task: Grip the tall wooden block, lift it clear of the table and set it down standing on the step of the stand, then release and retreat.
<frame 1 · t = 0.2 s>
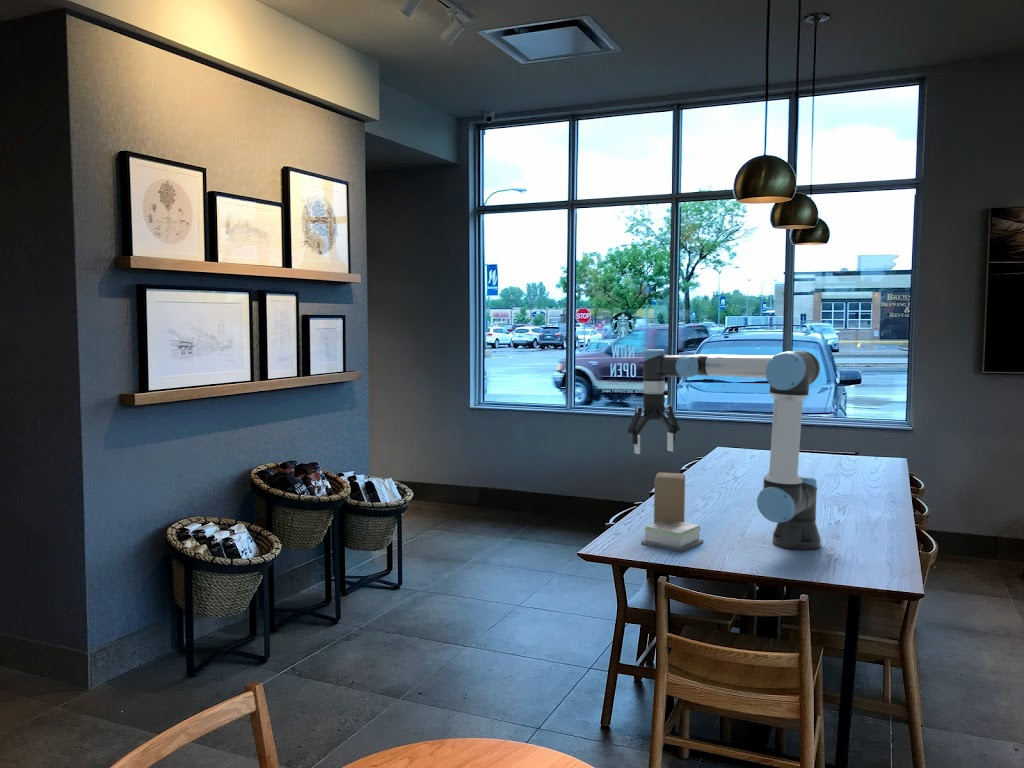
hand: (653, 452, 285), 28 cm above the table, fingers open, 13 cm apart
wooden block: (669, 531, 285), on the table
stand: (672, 543, 268), on the table
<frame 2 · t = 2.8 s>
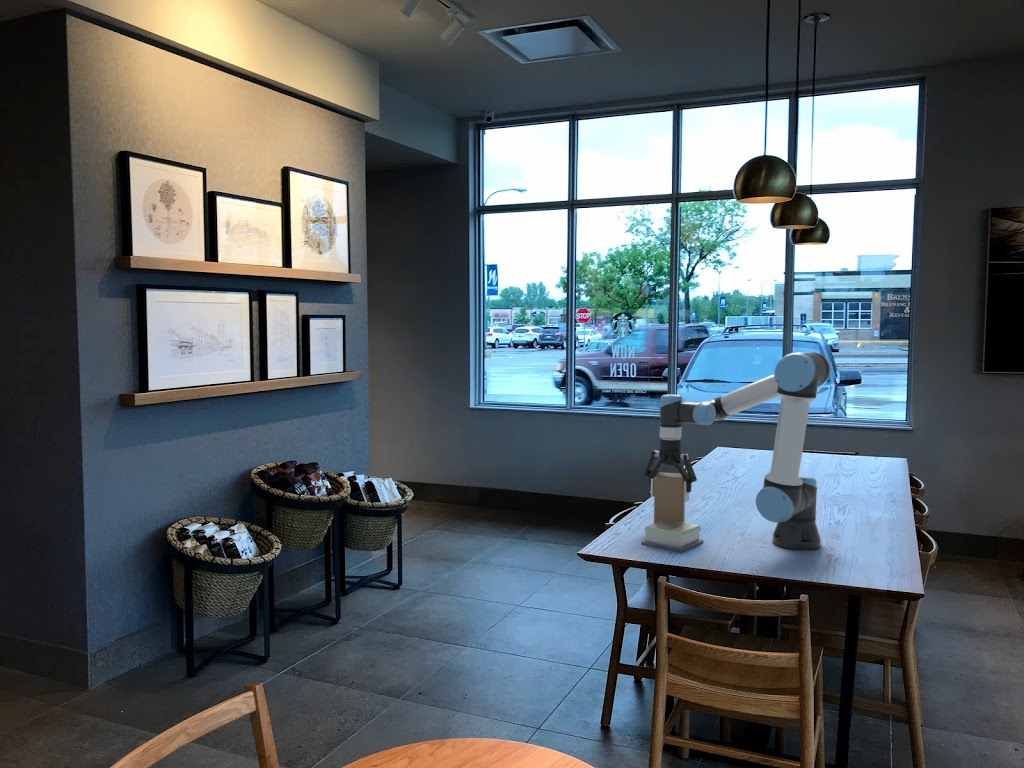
hand: (669, 498, 284), 11 cm above the table, fingers closed on wooden block, 12 cm apart
wooden block: (669, 531, 285), on the table, touching gripper
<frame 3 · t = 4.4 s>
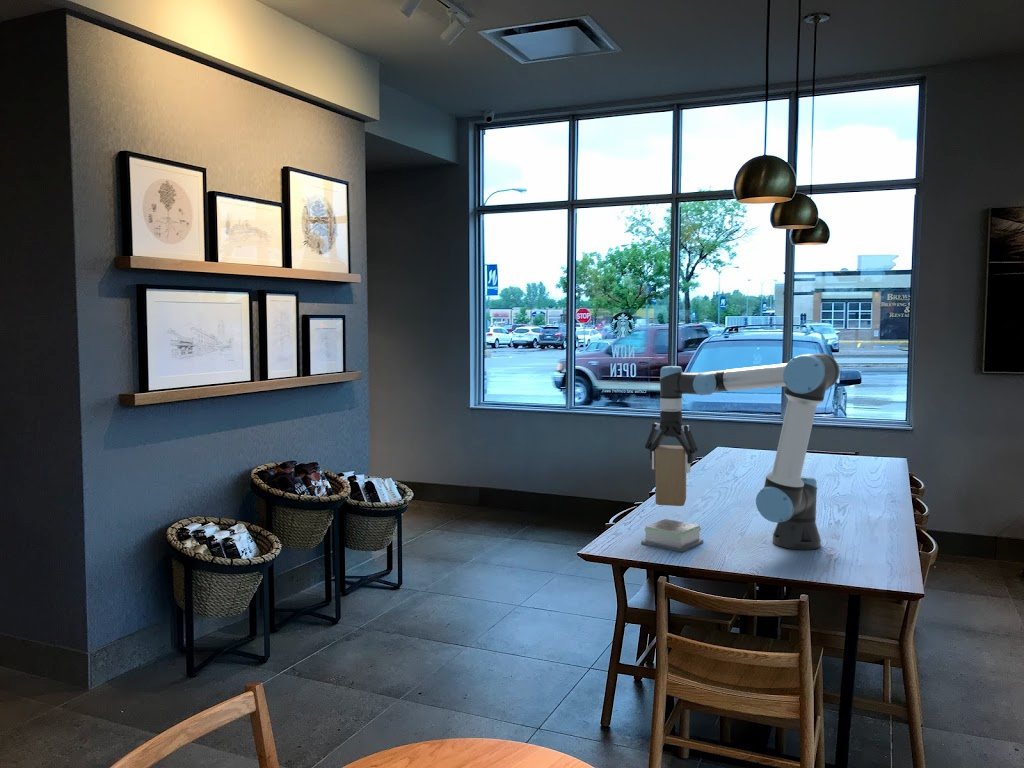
hand: (671, 470, 283), 22 cm above the table, fingers closed on wooden block, 12 cm apart
wooden block: (670, 503, 283), point 10 cm above the table, touching gripper
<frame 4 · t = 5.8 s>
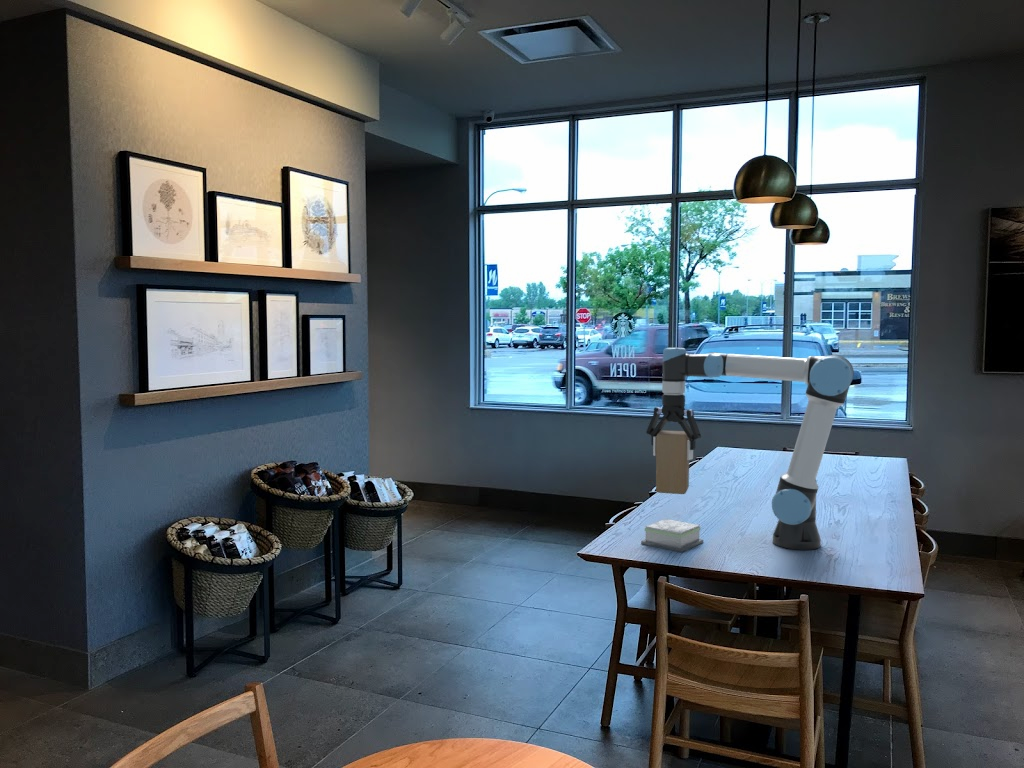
hand: (672, 457, 270), 28 cm above the table, fingers closed on wooden block, 12 cm apart
wooden block: (672, 491, 271), point 17 cm above the table, touching gripper
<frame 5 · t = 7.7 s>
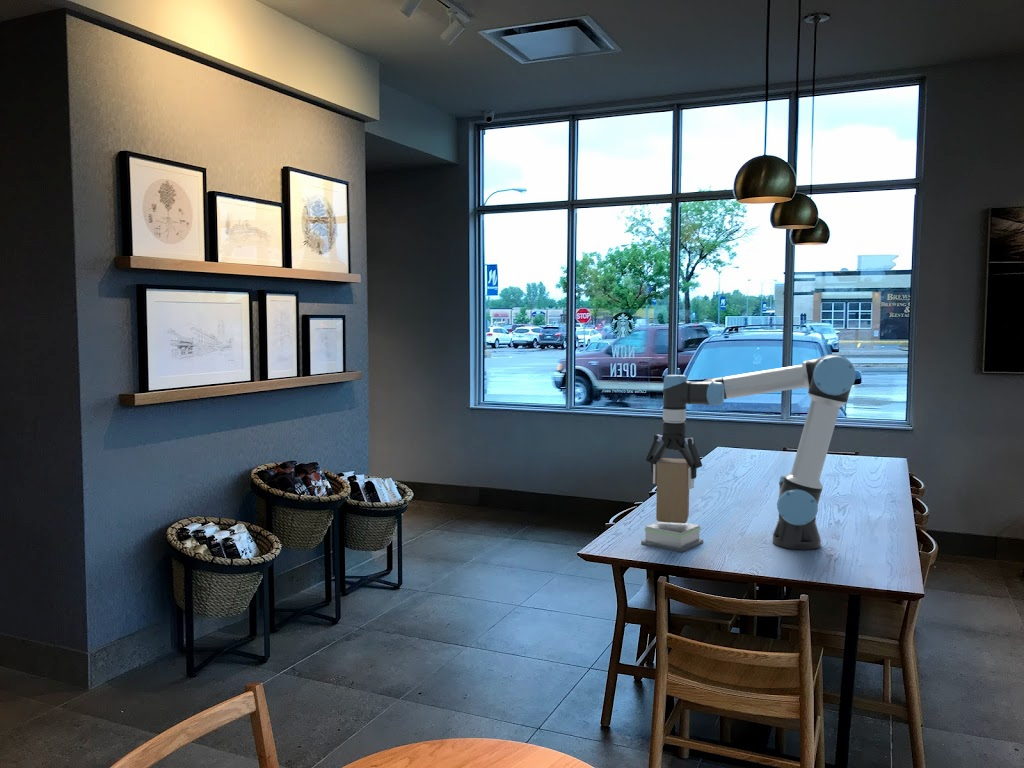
hand: (673, 485, 267), 20 cm above the table, fingers closed on wooden block, 12 cm apart
wooden block: (672, 520, 268), point 8 cm above the table, touching gripper
when the fingers open (18 cm above the table, at t = 9.1 s): wooden block stays where it is, resting on stand.
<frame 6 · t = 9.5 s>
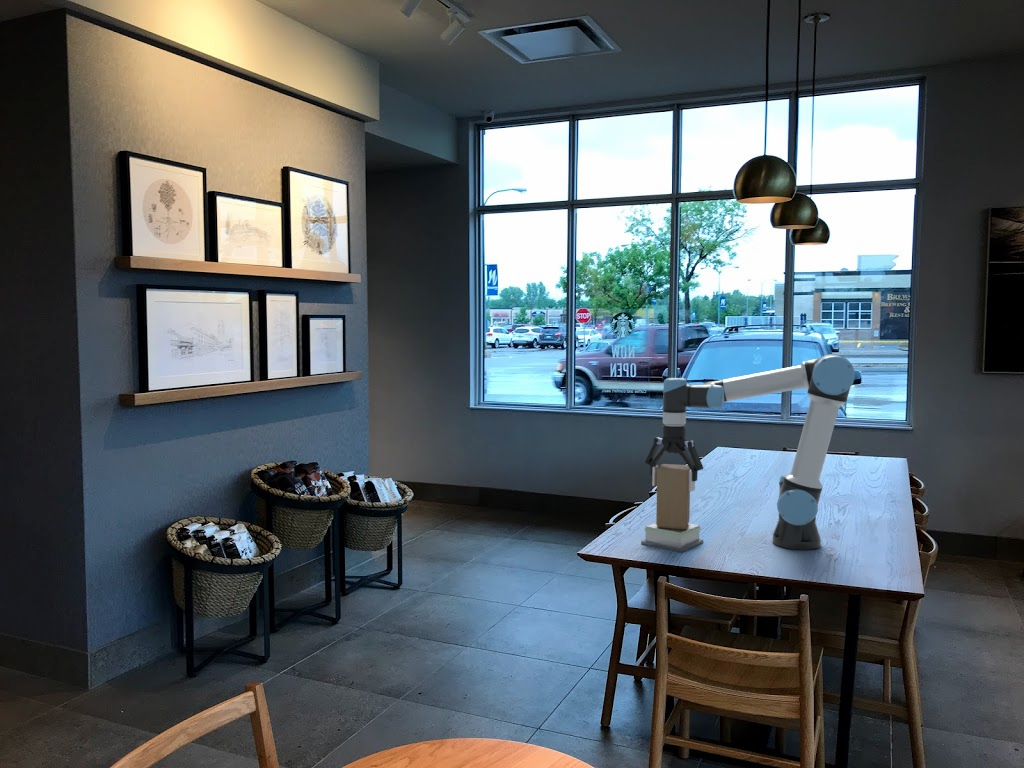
hand: (673, 488, 267), 19 cm above the table, fingers open, 13 cm apart
wooden block: (672, 526, 268), point 6 cm above the table, touching stand
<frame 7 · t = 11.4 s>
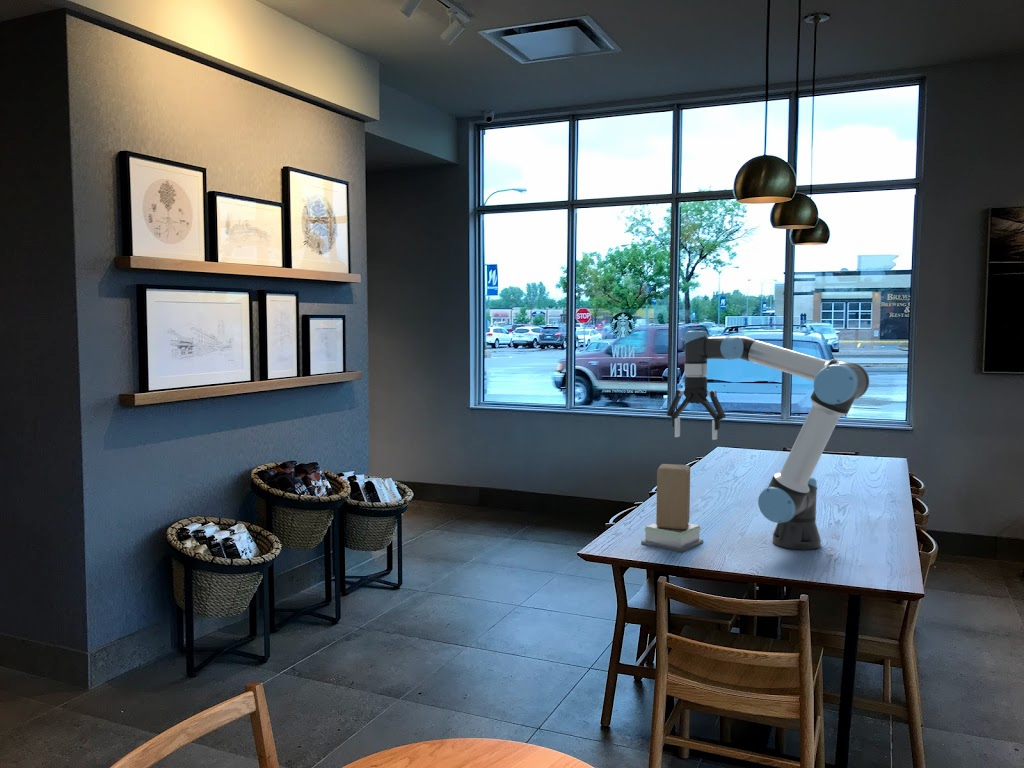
hand: (695, 438, 274), 34 cm above the table, fingers open, 13 cm apart
nothing on the table moved.
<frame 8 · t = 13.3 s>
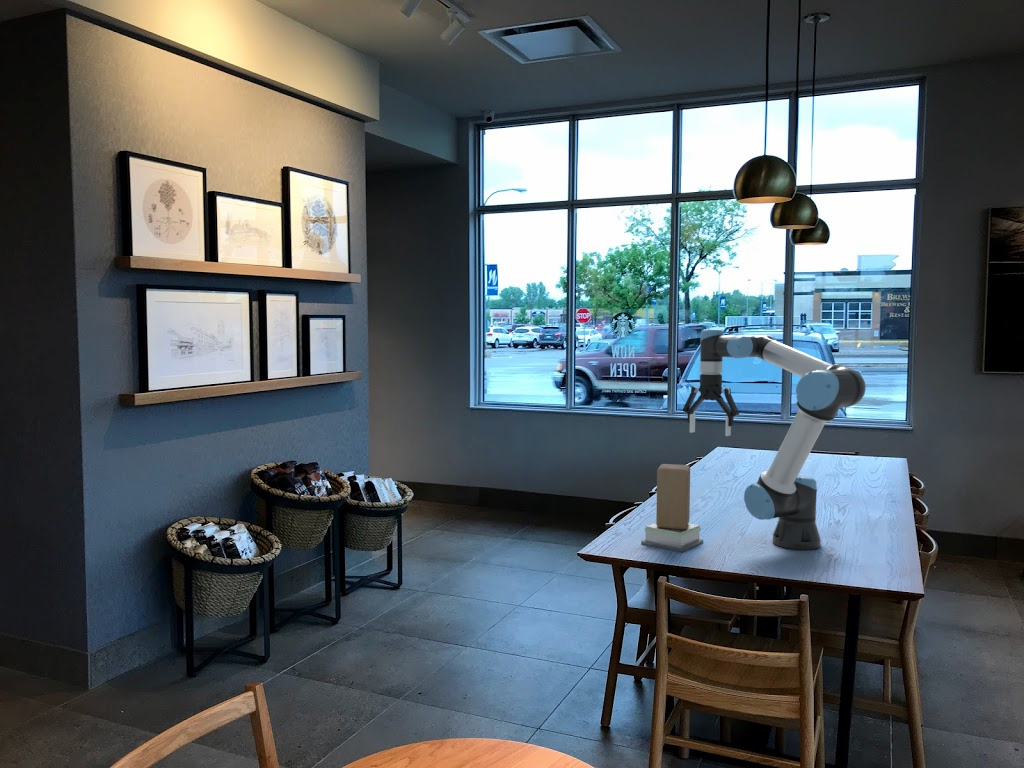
hand: (709, 434, 281), 35 cm above the table, fingers open, 13 cm apart
nothing on the table moved.
at the end: wooden block inside the target area on the stand (0.1 cm from its centre), point 5.8 cm above the stand's base; wooden block tilted 0°; the gripper is holding nothing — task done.
